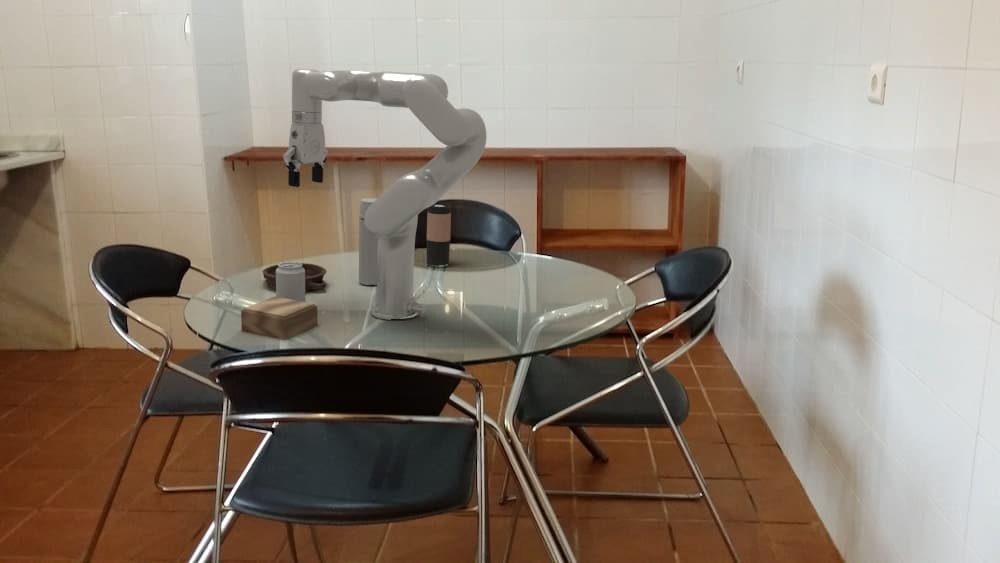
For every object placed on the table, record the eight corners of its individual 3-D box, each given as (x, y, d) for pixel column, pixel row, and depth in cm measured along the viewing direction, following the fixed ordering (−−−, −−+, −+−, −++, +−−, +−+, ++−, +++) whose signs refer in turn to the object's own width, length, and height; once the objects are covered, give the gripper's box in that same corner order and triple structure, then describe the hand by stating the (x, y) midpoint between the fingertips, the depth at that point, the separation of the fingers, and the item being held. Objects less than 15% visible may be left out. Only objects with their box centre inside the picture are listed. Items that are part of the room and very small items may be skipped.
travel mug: (423, 262, 285) (425, 202, 280) (446, 261, 287) (448, 202, 282) (428, 268, 278) (430, 206, 273) (451, 267, 280) (454, 206, 275)
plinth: (317, 324, 218) (317, 303, 216) (285, 339, 206) (285, 317, 205) (275, 316, 223) (274, 295, 221) (241, 330, 211) (241, 308, 210)
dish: (285, 274, 264) (284, 258, 262) (344, 285, 254) (344, 269, 253) (244, 286, 248) (244, 270, 247) (306, 299, 239) (305, 282, 238)
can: (270, 308, 229) (269, 264, 226) (289, 301, 236) (288, 259, 232) (292, 313, 226) (291, 269, 223) (311, 306, 232) (310, 263, 229)
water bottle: (371, 288, 252) (372, 203, 246) (352, 283, 257) (352, 199, 250) (393, 282, 259) (394, 200, 253) (374, 277, 264) (375, 196, 257)
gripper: (297, 121, 214) (296, 190, 219) (338, 118, 229) (337, 182, 234) (273, 118, 217) (272, 186, 222) (315, 115, 232) (314, 178, 237)
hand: (305, 184), depth 228 cm, fingers open, 9 cm apart
